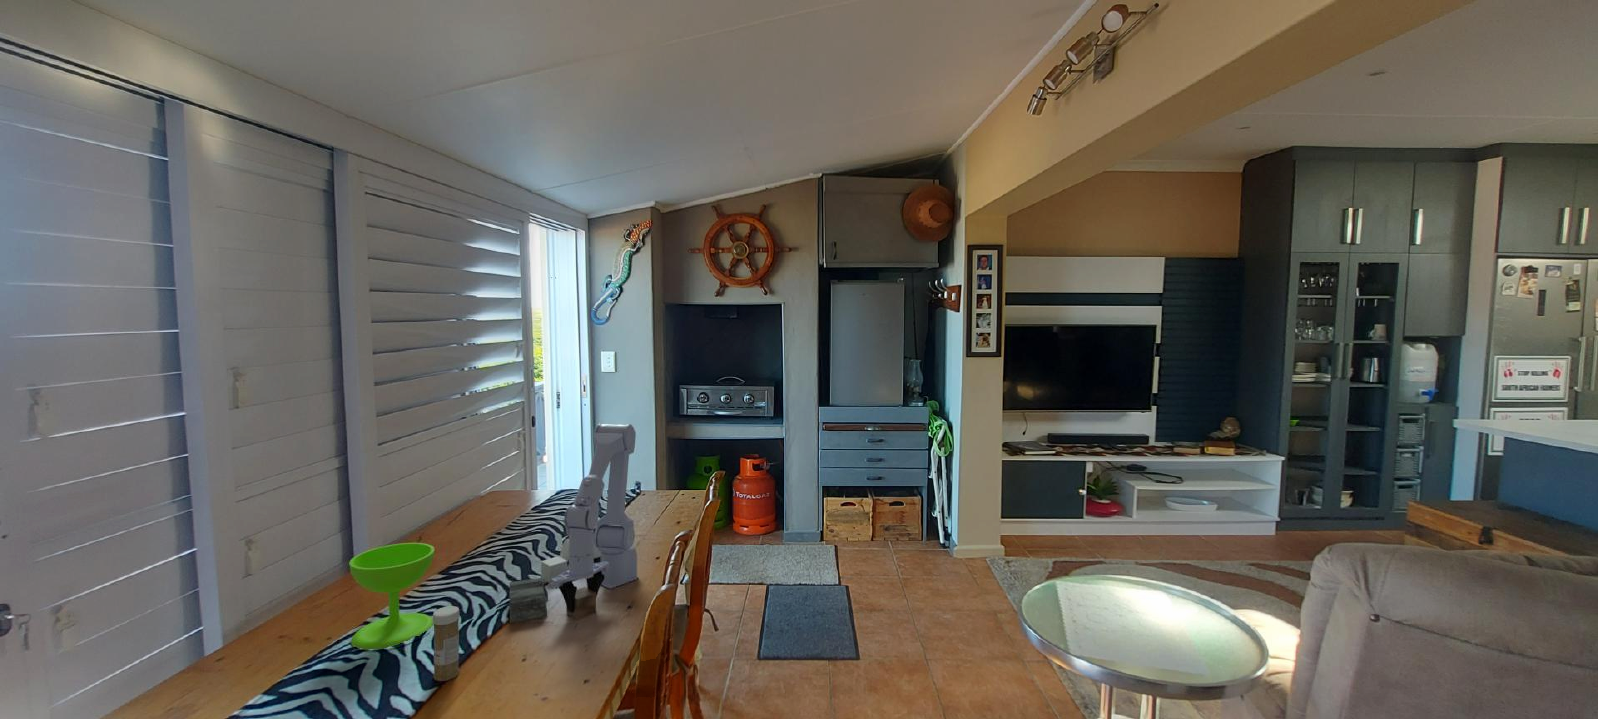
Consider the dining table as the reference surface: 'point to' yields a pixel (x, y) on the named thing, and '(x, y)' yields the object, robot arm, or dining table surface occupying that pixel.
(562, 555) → the spread jar
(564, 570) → the grey cube
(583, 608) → the walnut cube
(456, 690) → the dining table surface
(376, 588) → the wineglass
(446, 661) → the sprinkles bottle
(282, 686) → the dining table surface
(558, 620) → the dining table surface
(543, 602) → the stone block
